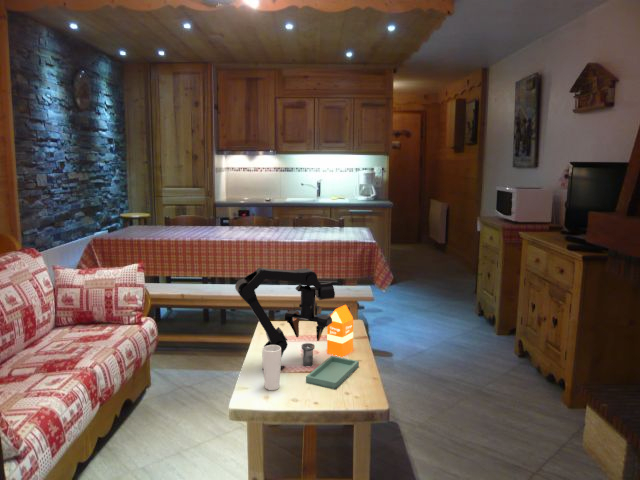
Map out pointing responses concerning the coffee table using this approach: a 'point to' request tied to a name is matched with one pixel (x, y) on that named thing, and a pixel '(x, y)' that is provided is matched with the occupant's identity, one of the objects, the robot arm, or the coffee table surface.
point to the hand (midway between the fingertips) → (307, 339)
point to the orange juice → (340, 332)
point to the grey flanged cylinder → (308, 354)
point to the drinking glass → (271, 366)
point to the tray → (332, 372)
